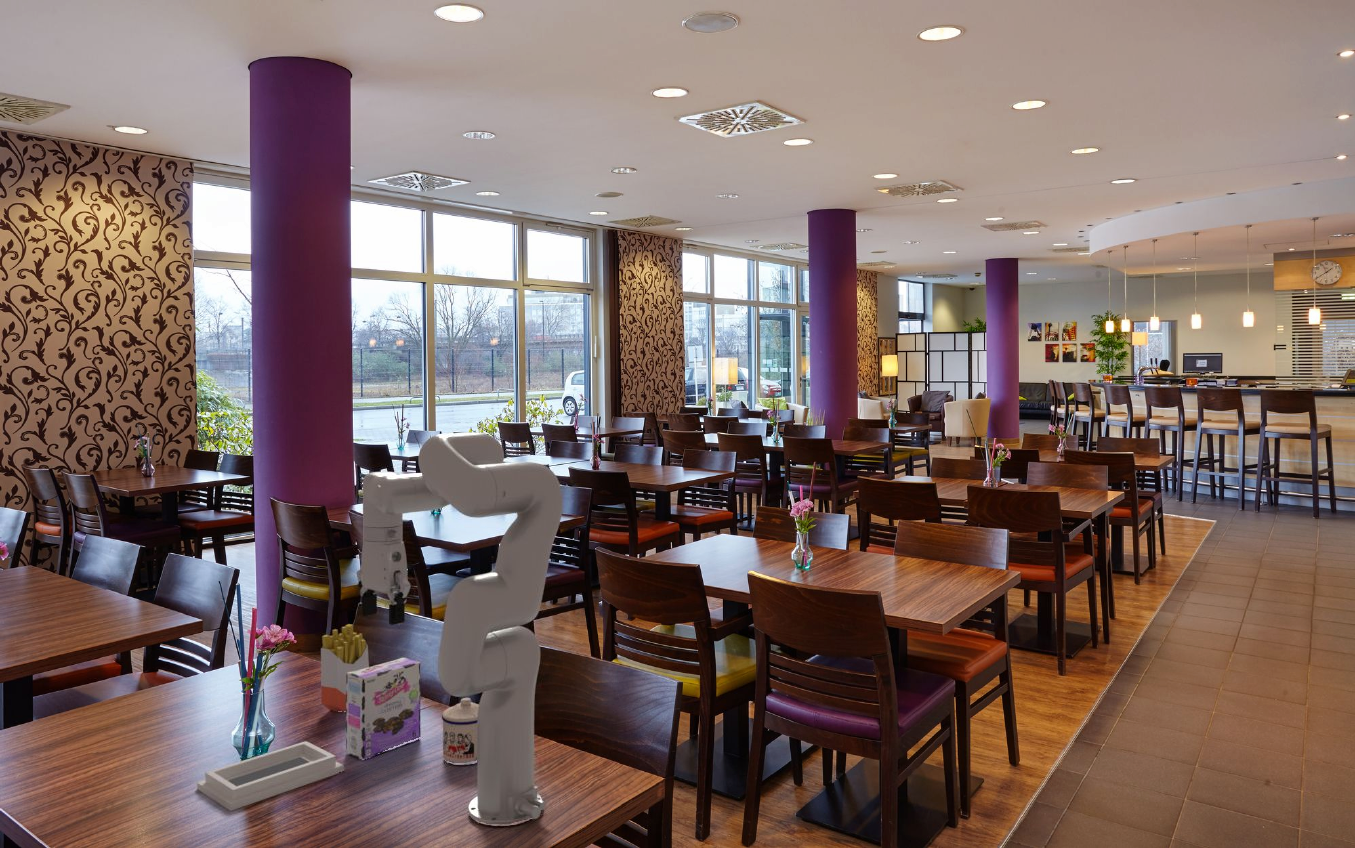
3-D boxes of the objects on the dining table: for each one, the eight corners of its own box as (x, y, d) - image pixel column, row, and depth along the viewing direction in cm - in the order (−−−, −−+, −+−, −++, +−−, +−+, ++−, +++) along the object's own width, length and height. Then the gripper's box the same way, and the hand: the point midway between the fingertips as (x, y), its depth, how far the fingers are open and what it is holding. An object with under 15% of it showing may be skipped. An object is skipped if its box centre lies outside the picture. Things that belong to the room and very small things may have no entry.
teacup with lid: (433, 764, 175) (432, 704, 174) (456, 746, 183) (456, 689, 183) (490, 771, 172) (490, 710, 171) (510, 752, 180) (510, 694, 180)
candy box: (362, 761, 176) (362, 677, 175) (345, 754, 179) (344, 671, 178) (421, 740, 187) (421, 660, 186) (404, 733, 190) (403, 655, 189)
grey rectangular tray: (343, 771, 171) (343, 755, 171) (230, 810, 155) (230, 793, 155) (308, 753, 179) (308, 738, 179) (197, 788, 163) (196, 772, 163)
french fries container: (370, 701, 209) (370, 623, 208) (337, 717, 199) (337, 635, 198) (354, 698, 211) (354, 621, 210) (321, 714, 200) (320, 633, 200)
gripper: (424, 537, 179) (424, 623, 179) (375, 526, 190) (375, 608, 190) (390, 542, 173) (390, 630, 174) (342, 531, 184) (342, 614, 185)
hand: (382, 618), depth 182 cm, fingers open, 9 cm apart
